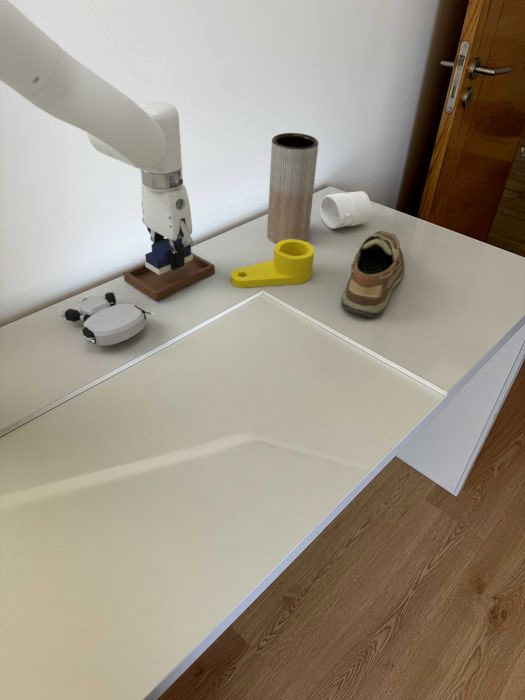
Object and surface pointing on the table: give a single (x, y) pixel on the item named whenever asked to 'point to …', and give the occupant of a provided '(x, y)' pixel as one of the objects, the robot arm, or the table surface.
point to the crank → (279, 267)
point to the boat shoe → (374, 275)
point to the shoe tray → (169, 278)
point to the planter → (291, 186)
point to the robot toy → (107, 319)
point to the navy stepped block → (163, 256)
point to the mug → (345, 209)
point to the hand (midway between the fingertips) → (169, 261)
